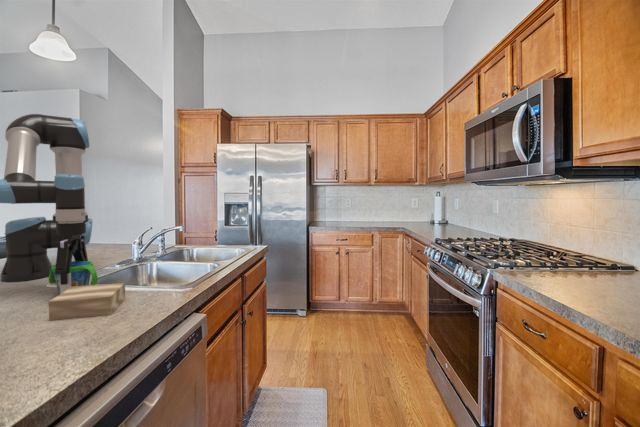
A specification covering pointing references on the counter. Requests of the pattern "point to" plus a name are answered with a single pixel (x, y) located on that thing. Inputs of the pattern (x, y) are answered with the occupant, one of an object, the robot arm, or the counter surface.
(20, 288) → the counter surface
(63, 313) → the maple block
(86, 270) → the snack cup
